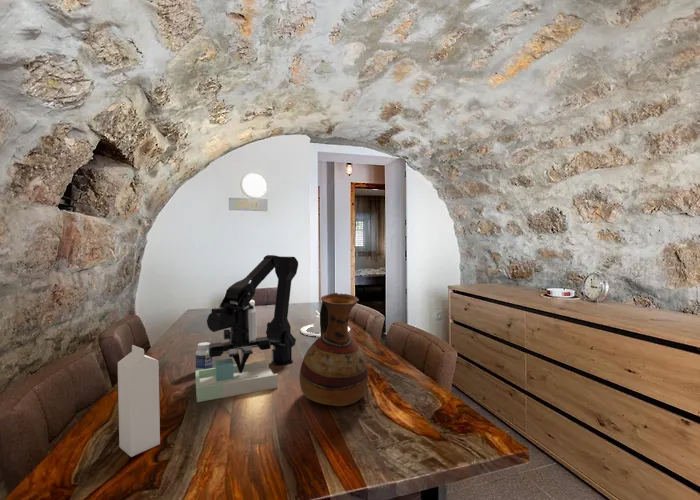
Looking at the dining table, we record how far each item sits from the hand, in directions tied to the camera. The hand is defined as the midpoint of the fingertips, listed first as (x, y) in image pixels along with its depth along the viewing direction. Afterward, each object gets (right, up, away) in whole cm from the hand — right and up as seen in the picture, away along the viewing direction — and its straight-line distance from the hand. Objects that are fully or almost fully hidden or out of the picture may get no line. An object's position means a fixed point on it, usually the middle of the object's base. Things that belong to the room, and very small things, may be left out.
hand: (240, 372), depth 114 cm
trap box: (0, -3, -4) cm, 5 cm away
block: (-4, -1, -2) cm, 5 cm away
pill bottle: (-15, -3, +9) cm, 18 cm away
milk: (-11, -4, -36) cm, 38 cm away
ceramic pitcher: (+31, -3, -12) cm, 33 cm away
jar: (-12, -2, +47) cm, 49 cm away
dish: (+23, -2, +64) cm, 68 cm away
